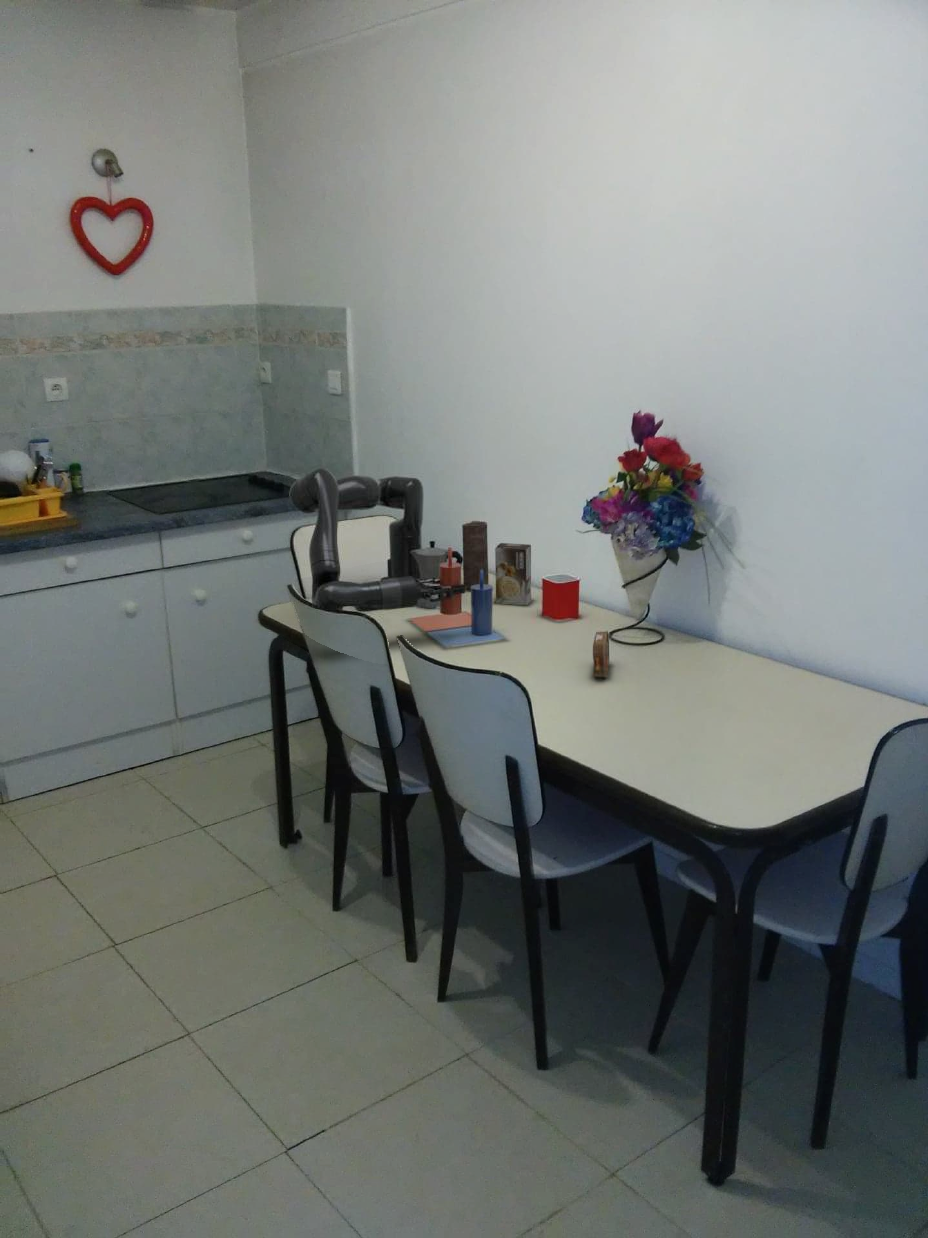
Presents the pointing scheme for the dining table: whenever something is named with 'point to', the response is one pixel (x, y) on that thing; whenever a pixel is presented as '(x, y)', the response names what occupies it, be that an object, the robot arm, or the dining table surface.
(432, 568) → the coffeepot
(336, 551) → the robot arm
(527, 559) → the coffee box
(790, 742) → the dining table surface
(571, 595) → the mug
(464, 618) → the board
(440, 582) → the terracotta spoon cup
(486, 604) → the blue spoon cup
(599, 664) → the tin
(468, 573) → the candle
